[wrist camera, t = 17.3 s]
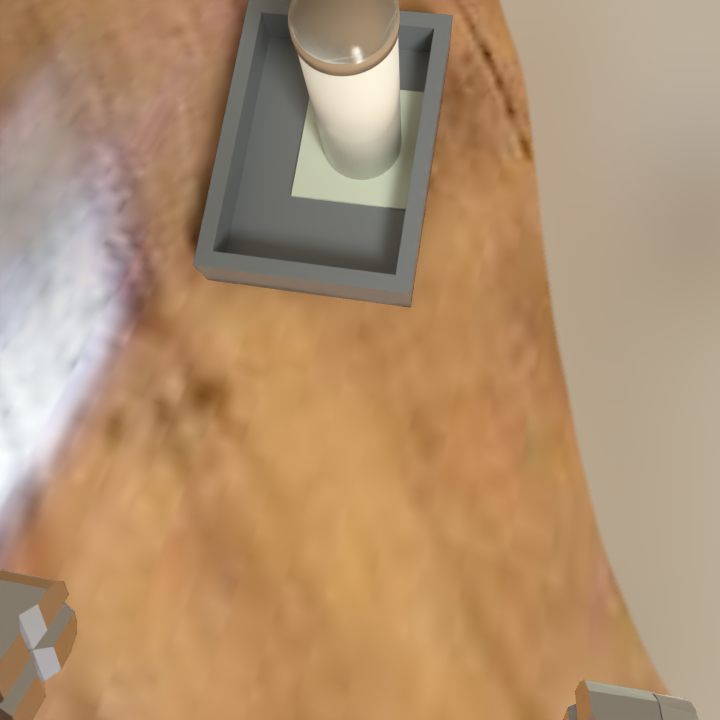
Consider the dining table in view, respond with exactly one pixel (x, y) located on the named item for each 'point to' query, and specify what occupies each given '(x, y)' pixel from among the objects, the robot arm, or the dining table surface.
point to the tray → (318, 174)
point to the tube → (352, 80)
